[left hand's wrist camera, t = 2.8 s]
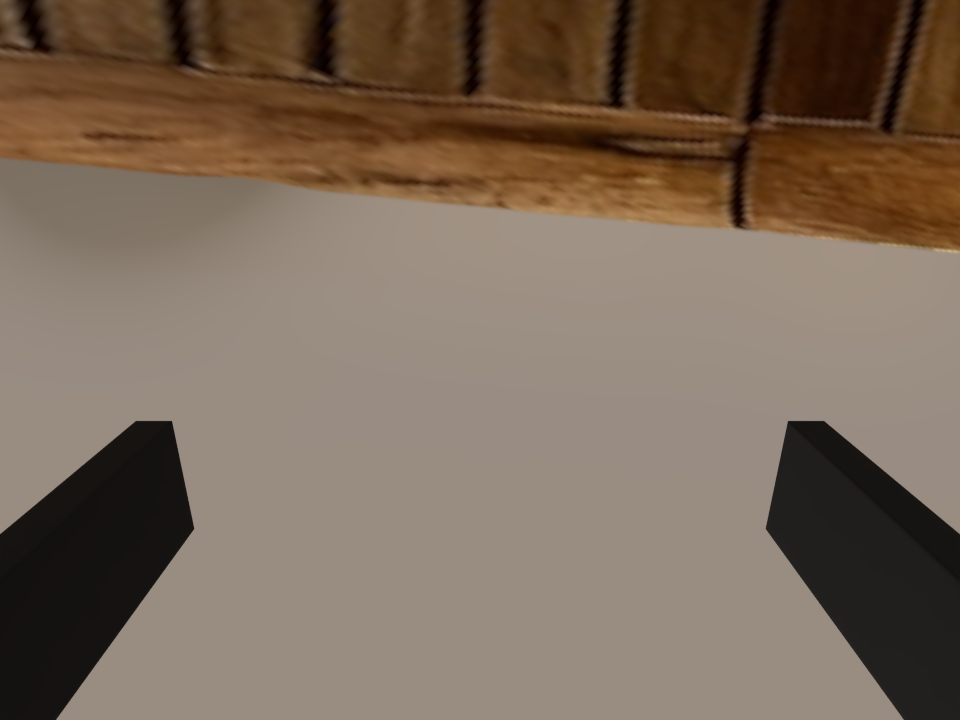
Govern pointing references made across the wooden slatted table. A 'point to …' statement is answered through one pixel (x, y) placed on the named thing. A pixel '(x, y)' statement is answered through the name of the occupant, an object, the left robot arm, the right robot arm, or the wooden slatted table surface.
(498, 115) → the wooden slatted table surface
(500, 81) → the wooden slatted table surface
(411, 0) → the wooden slatted table surface
